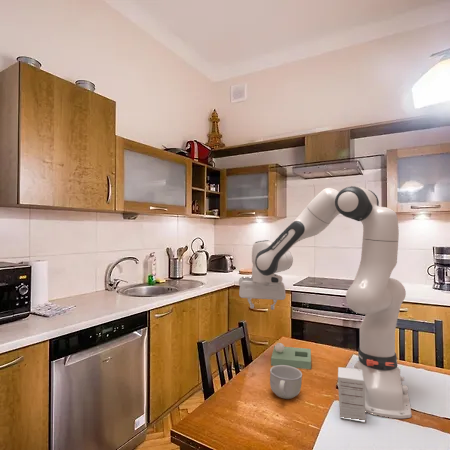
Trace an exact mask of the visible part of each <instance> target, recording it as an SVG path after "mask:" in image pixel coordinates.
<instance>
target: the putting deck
mask: <svg viewBox="0 0 450 450" xmlns="http://www.w3.org/2000/svg"><path fill="white" fill-rule="evenodd" d="M275 346H276V345H274V347H273V350H272V353H271V357H270V366H272V367H273V366H277V365H287V366H291V367H294V368H297V369H301V370H302V369H304V370H312V349H311V348H304V347H292V346H284V351H283V352H281V353H279V352H277V351H276V349H275Z"/></svg>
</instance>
